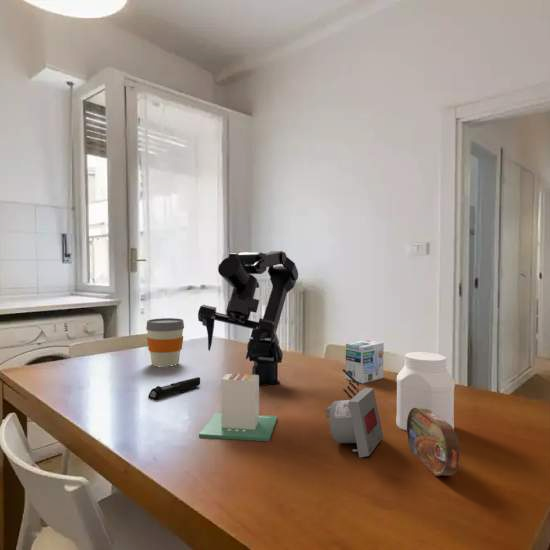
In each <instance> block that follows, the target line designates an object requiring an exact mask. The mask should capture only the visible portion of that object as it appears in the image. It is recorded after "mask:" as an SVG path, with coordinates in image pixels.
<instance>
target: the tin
mask: <svg viewBox="0 0 550 550" xmlns="http://www.w3.org/2000/svg"><path fill="white" fill-rule="evenodd" d="M406 436H407V440H408V442H407V443H408V445H409V448H410V450H411V452H412V454H413V455H414V457H416V458H417V459H418V460H419V461H420V462H421V463H422V464H423V466H425V467H426V468H427V470H429V472H430V471H431V472H430V473H433V474H432V475H434V476H435V477H438V476H439V477H440V476H453V475H455V474H456V473H457V472H458V470H459V464H460V450H461V448H460V441H459V437H458V435H457V433H456V431H455V428H454V429H453V428H452V426H451V425H450V424H448V423H447V422H446V421H444V420H443V419H441V418H440V417H439V416H437V415H436V414H434V413H433V412H432V411H430V410H429V409H421V408H413V409H411V410H410V412H409V415H408V419H407V430H406Z"/></svg>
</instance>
